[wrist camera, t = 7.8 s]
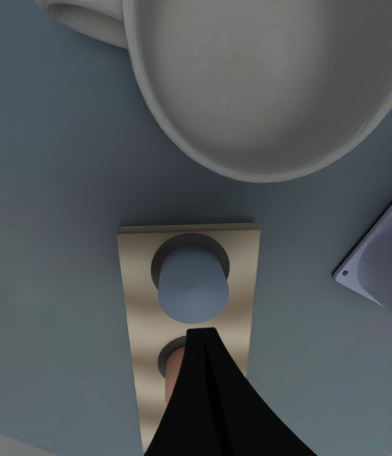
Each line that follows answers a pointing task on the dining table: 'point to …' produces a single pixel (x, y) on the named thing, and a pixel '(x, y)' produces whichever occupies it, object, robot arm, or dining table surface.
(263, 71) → the teacup
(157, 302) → the button panel
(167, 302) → the slate button
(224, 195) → the dining table surface
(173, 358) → the terracotta button
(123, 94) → the dining table surface
